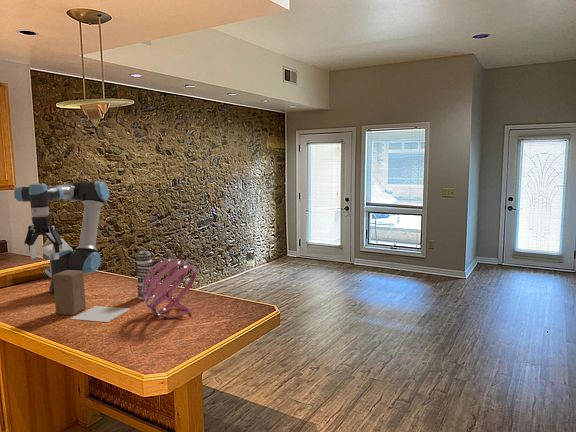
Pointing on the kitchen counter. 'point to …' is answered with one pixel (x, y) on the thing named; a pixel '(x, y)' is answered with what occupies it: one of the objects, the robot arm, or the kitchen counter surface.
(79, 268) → the robot arm
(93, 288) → the kitchen counter surface
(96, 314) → the mat
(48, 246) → the gable box
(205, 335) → the kitchen counter surface
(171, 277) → the spiral basket
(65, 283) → the wooden block
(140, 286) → the decorative candle
